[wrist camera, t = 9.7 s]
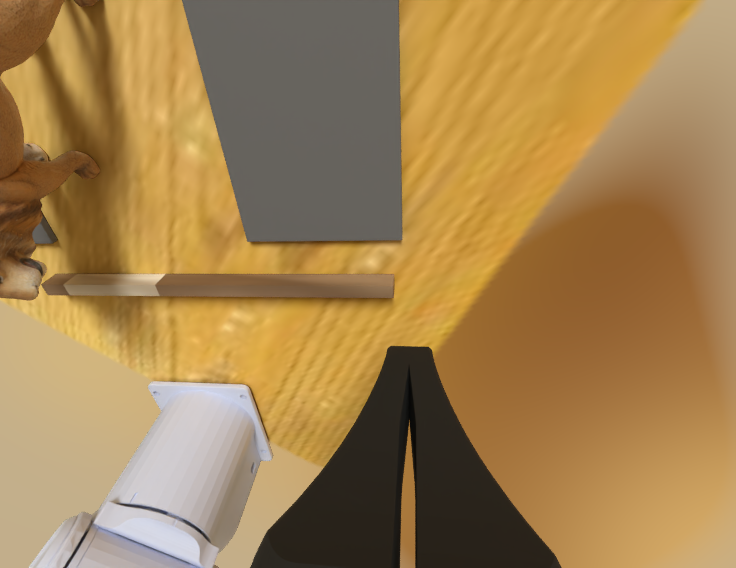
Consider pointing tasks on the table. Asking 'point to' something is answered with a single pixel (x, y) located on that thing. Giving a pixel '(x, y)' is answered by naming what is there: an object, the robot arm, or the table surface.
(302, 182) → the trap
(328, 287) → the wooden sticks
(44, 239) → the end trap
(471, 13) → the table surface
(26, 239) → the lion figurine
